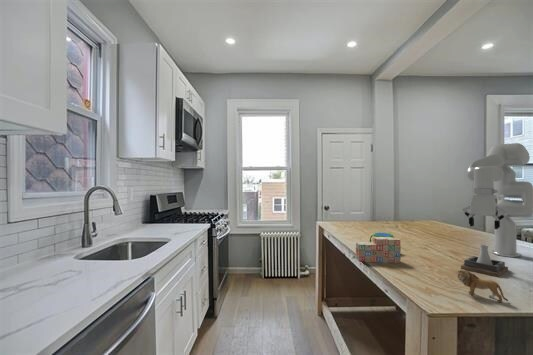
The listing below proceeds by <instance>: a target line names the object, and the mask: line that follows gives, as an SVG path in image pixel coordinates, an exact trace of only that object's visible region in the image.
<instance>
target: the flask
mask: <svg viewBox="0 0 533 355" xmlns="http://www.w3.org/2000/svg"><path fill="white" fill-rule="evenodd" d="M479 247H480V251H479V252H480V253H479V255H478V256H477V257H478V259H477V262H478V263H483V264H488V265H493V264H492V261H491V260H492V259H491V257H490V254H489V249H488V248H489V245H487V244H479Z"/></svg>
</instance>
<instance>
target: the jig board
mask: <svg viewBox="0 0 533 355" xmlns="http://www.w3.org/2000/svg"><path fill="white" fill-rule="evenodd" d="M478 257H479V256H475V255H474V256H471V257H468V258H466V259H464V260H463V264H462V265H460V270H461V269H463V270H467V271H469V272H472V273H479V274H483V275H487V276H491V277H496V278H498V277H499V276H501V275H503V274H504V273H506V272H507V271H509V267H508V266H506V262H505V261H501V260H497V259H491V261H492V264H493V265H488V264H483V263H478V262H477V259H478Z"/></svg>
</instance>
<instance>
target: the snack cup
mask: <svg viewBox="0 0 533 355" xmlns="http://www.w3.org/2000/svg"><path fill="white" fill-rule="evenodd" d="M373 237H395V236H394V235H393V234H392V233H389V232H375V233H373V234H372V235H371V236H370V237H369V242H372V239H373Z"/></svg>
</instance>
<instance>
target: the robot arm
mask: <svg viewBox="0 0 533 355" xmlns="http://www.w3.org/2000/svg"><path fill="white" fill-rule="evenodd" d="M530 156H531V155H530V152H529V151H528V150H527V148H526V147H525V145H523V144H522V143H520V142H514V143H501V144H500V143H499V144H495V145H493V146H492V147H490V149H489V151H488V153H487V154H486V156H484V157H481V158H478V159H476V160H474V161H473V162H471V163H470V165H469V167H468V169H467V171H466V178H467V180H469V181H471V182H473V194H472V195H471V200H470V205H469V206H467V207H463V208H462V211H463V213H464V215H465V216H466V217H467V218H468V225H469V227H474V226H475V218H474V217H475V216H485V217H486V216H487V217H492V218H493V219H494V249H492V250H491V252H490V253H491V254H493V255H495V256H496V255H497V256H502V257H507V258H520V257H521V254H520V253H519V252H517V251H518V250H517V247H518V246H517V224H516V222H515V221H514V220H513V219H512V218H520V219H521V218H523V219H531V218H532V217H533V184H532V183H531V182H529V181H517V180H516V172H515V170H514V169H512V167H510V166H524V165H527V164H528V163H529V162H530V158H531V157H530ZM494 184H495V186H496V187H495V186H494ZM498 197H500V198H509V199H498ZM511 198H512V199H511ZM515 199H517V200H515ZM518 199H521V200H518ZM468 210H470V212H468Z"/></svg>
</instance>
